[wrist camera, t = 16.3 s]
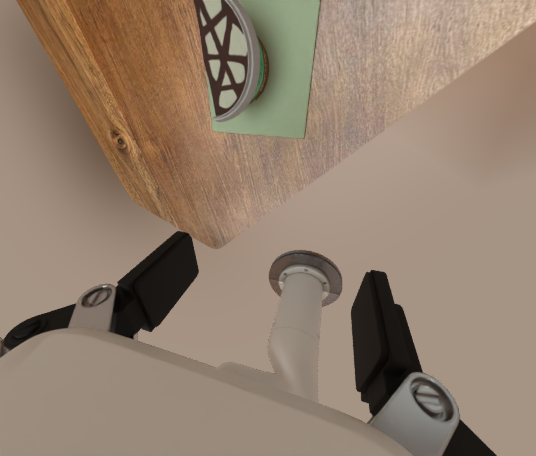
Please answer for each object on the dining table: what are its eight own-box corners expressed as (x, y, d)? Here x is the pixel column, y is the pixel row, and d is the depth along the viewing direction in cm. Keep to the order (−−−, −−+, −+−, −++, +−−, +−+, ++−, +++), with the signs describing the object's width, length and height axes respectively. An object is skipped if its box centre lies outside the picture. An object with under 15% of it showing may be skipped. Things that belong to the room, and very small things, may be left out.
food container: (279, 114, 32) (260, 120, 24) (242, 117, 34) (212, 124, 25) (274, 0, 26) (245, -44, 17) (229, 11, 27) (183, -25, 19)
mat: (304, 138, 33) (303, 138, 33) (214, 130, 37) (212, 131, 36) (324, -33, 23) (324, -35, 23) (198, -21, 27) (196, -23, 26)
